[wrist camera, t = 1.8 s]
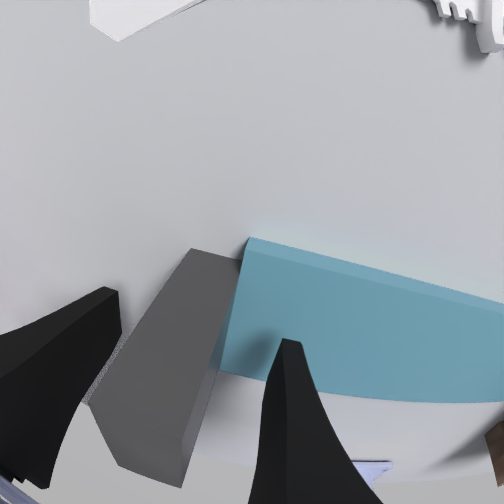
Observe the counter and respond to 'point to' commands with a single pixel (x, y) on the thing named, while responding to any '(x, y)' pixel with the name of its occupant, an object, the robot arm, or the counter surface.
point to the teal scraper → (294, 328)
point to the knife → (171, 3)
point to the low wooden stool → (497, 451)
